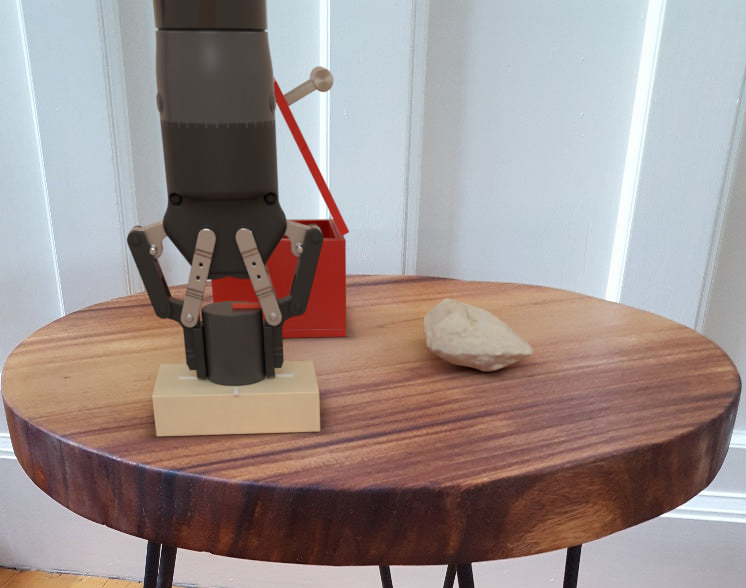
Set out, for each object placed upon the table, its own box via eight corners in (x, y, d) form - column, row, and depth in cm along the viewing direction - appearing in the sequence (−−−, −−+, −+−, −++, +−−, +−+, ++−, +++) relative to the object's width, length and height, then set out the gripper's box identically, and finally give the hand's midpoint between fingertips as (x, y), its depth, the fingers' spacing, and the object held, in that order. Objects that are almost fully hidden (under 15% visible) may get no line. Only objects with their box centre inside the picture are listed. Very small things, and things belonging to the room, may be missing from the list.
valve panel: (156, 438, 70) (151, 395, 68) (164, 400, 77) (159, 360, 75) (320, 433, 71) (319, 390, 69) (313, 396, 78) (312, 357, 76)
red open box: (216, 339, 92) (208, 241, 87) (218, 310, 101) (211, 220, 97) (346, 336, 93) (345, 239, 88) (336, 308, 103) (335, 219, 98)
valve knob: (206, 386, 70) (199, 311, 67) (208, 368, 74) (201, 297, 71) (266, 384, 70) (262, 310, 68) (265, 367, 74) (261, 296, 71)
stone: (433, 382, 81) (436, 321, 79) (408, 339, 92) (410, 285, 90) (539, 378, 82) (545, 318, 80) (502, 337, 93) (506, 283, 91)
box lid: (268, 85, 81) (324, 51, 80) (265, 79, 91) (315, 49, 90) (341, 236, 88) (393, 206, 87) (332, 216, 98) (378, 189, 97)
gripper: (322, 109, 66) (326, 358, 76) (113, 109, 65) (144, 362, 74) (330, 118, 60) (334, 387, 70) (99, 117, 59) (135, 392, 68)
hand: (235, 373), depth 72 cm, fingers closed on valve knob, 4 cm apart
